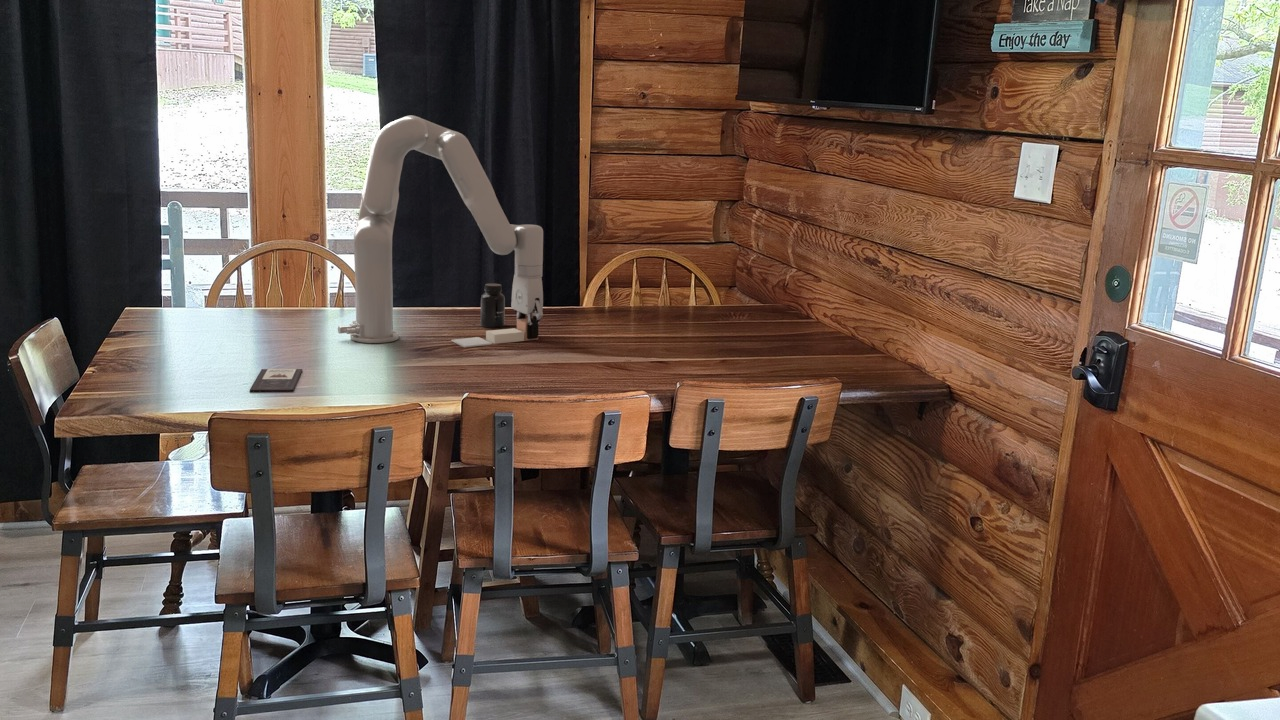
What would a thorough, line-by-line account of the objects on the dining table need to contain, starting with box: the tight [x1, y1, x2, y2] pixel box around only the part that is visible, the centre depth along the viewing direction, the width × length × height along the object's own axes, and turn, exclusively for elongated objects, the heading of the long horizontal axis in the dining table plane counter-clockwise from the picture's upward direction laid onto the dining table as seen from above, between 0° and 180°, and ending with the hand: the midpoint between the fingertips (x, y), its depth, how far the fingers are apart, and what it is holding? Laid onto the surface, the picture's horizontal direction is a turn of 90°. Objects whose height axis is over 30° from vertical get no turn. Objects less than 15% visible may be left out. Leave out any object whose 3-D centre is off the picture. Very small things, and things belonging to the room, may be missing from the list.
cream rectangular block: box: [485, 327, 525, 345], centre depth 285 cm, size 9×5×3 cm, turn 125°
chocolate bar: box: [249, 368, 303, 393], centre depth 236 cm, size 9×1×18 cm
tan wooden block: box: [516, 317, 540, 342], centre depth 288 cm, size 4×5×5 cm
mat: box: [451, 336, 493, 348], centre depth 280 cm, size 8×8×1 cm
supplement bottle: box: [480, 283, 506, 329], centre depth 301 cm, size 7×7×12 cm
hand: (527, 335), depth 289 cm, fingers closed on tan wooden block, 5 cm apart
